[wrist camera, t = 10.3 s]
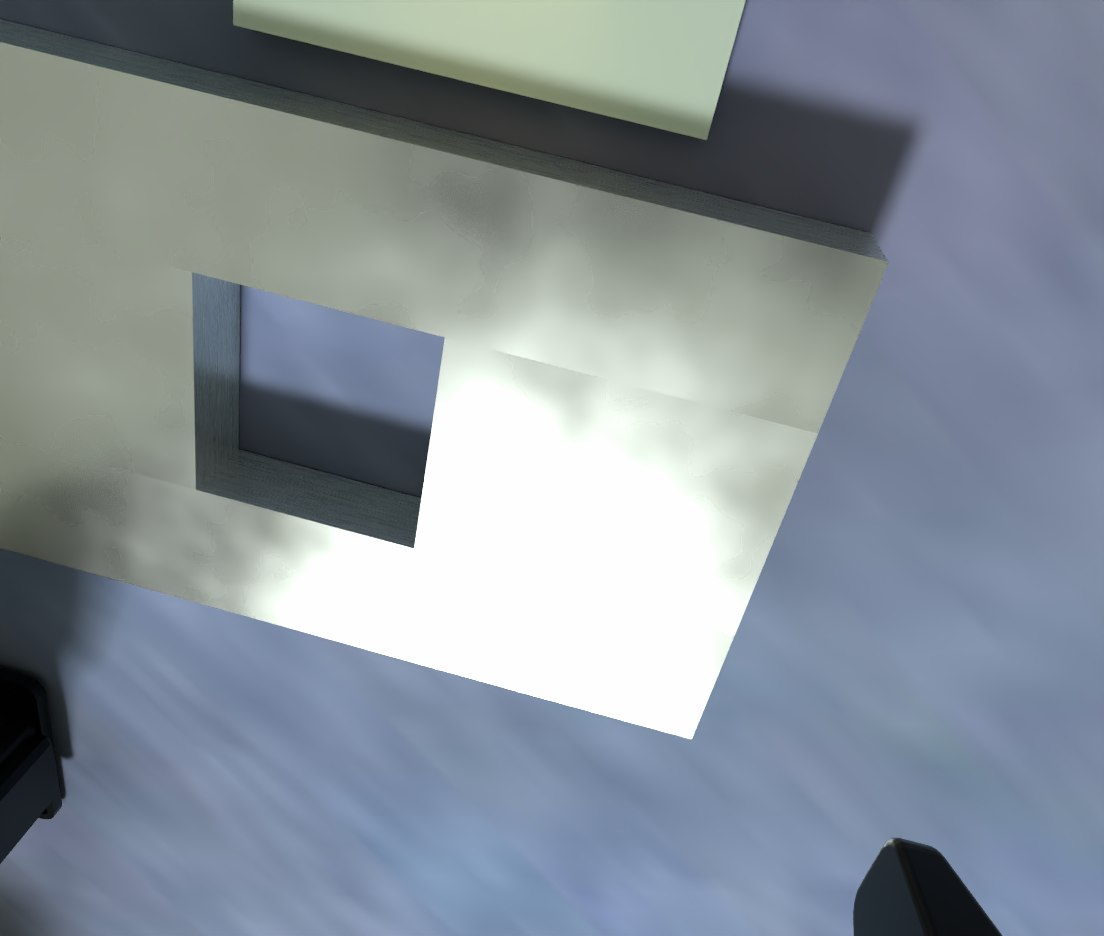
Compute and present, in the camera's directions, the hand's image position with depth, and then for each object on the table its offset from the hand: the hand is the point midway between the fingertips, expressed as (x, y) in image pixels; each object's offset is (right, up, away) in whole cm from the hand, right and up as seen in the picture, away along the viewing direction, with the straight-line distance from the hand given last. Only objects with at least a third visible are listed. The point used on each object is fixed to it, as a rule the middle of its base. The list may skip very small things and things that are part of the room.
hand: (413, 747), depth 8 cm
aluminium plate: (-3, +5, +12) cm, 13 cm away
